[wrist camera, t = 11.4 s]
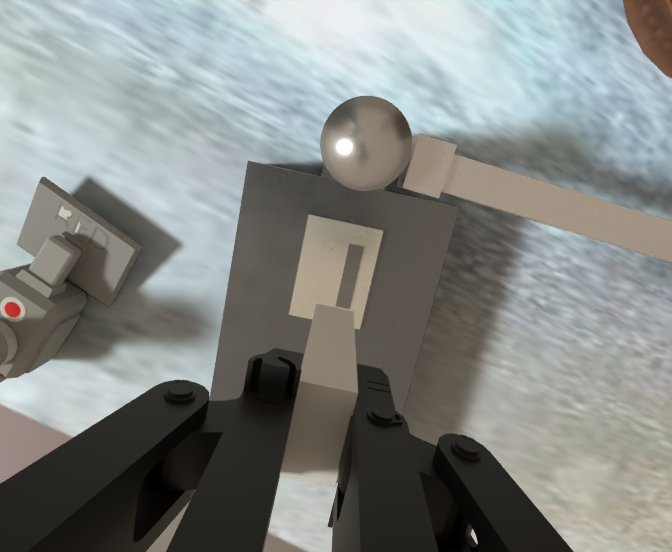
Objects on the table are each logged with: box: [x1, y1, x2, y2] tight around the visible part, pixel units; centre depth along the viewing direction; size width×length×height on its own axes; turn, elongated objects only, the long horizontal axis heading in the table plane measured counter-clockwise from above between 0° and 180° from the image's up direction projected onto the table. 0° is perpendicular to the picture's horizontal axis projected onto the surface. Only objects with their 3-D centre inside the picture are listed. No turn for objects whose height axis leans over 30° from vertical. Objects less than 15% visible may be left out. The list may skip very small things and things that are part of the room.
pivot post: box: [320, 96, 412, 191], centre depth 27 cm, size 5×5×13 cm
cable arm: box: [396, 134, 672, 263], centre depth 24 cm, size 23×3×3 cm, turn 74°
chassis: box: [210, 161, 459, 483], centre depth 33 cm, size 22×14×6 cm, turn 168°
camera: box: [0, 177, 143, 382], centre depth 30 cm, size 9×12×15 cm
